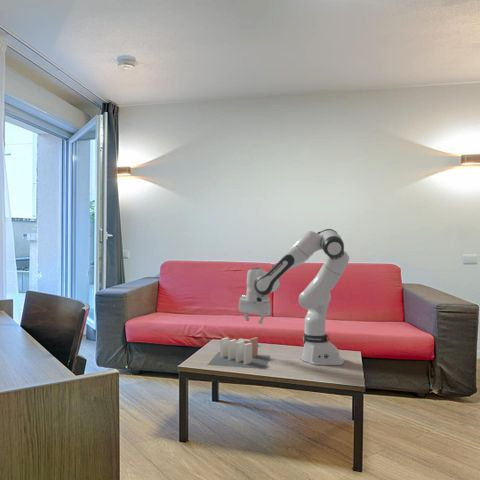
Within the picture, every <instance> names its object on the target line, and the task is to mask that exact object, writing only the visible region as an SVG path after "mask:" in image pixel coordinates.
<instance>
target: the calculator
mask: <svg viewBox="0 0 480 480" xmlns="http://www.w3.org/2000/svg"><path fill="white" fill-rule="evenodd" d="M240 341H244V344H247V343H250V339H249V338H247V339H246V338H238V339H236V342H240Z"/></svg>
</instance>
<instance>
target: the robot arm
mask: <svg viewBox="0 0 480 480" xmlns="http://www.w3.org/2000/svg"><path fill="white" fill-rule="evenodd" d="M344 244H345V243H344V240H343V239H342V237H341V236H340V234H339V233H338V232H337V231H336V230H334V229H331V228H325V229H323V230H321V231H318V232H315V231H313V230H311V231H310V230H308V231H306V232H305V233H304V234H303V235H301V236H300V237H299V238H298V239H296V241H295V242H293V244H292V245H291V246H290V248H289V249H287V251H286V252H285V253H284V255H283V256H282V257H281V258H280V259H279V260H278V262H277V263H275V265H274V266H272V267H271V269H270V270H269V271H266V270H264V269H262V267H254V268H250V269H248V270H247V275H246V288H247V289H246V295H240V296H239V302H238V312H240V313H243V316H244V320H245V321H246V322H248V321H250V317H249V316H248V315H249V314H250V315H257V316H260V319H258V324H260V325H262V324H263V322H264V319H265V317H269V316H270V315H271V310H272V309H271V307H272V306H271V303H270V301H271V298H270V297H269V296H267V295H269V294H272V293H273V292H275V291H277V290H278V289H279V288H280V285H281V284H280V283H281V281H280V278H281V277H282V276H283V275H284V274H285V273H286V272H287V271H289V270H291V269H294V268H295V267H298V266H301V265H303V264H304V263H305V262H306V261H308V260H309V259H310V258H311V257H312V256H313V255H314V253H316V252H317V251H321V250H322V251H323V252H324V254H325V255H326V256H327V257H326V260H325V261H324V262H323V264H322V266H321V267H320V269H319V271H318V272H317V274H316V275H315V277H314V278H313V279H312V280H311V281H310V282H309V283H308V285H307V286H306V287H305V288H304V290H303V291H302V292H301V293H299V296H298V301H297V302H298V304H299V306H300V307H301V308H303V309H305V310H307V313H306V315H305V317H304V332H303V339H302V340H303V350H302V354H301V359H300V360H302V361H304V362H306V363H309V364H311V365H314V366H317V365H318V366H341V365H343V364H344V363H345V360H344V358H343V357H342V356H341V354H340V351H339V349H338V348H337V346H336V345H334V344H333V343H332V342H331V341H330V340H331V337H330V335H328V334H327V333H326V319H327V312H328V309H329V304H330V302H331V299H332V294H331V291H332V290H333V289H334V288H335V287H336V285H337V283H338V282H339V281H340V279H341V277H342V276H343V274H344V272H345V270H346V268H347V266H348V264H349V261H350V256H349V253H348V252H347V251H345V245H344Z"/></svg>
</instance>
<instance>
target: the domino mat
mask: <svg viewBox="0 0 480 480" xmlns="http://www.w3.org/2000/svg"><path fill="white" fill-rule="evenodd" d="M270 359H271V355H267V354H266V355H265V354H258V356H255V357H253V358H252V363H249V364H244V360H243V361H240V362H236V358H235V359H232V360H228V356H227V357H224V358H221V357H220V352H217V353H216V354H215V356H213V358H211V360H210V361H209V363H207V366H219V367H233V368H246V369H259V370H266V369H267V366H268V364H269V362H270Z"/></svg>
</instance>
